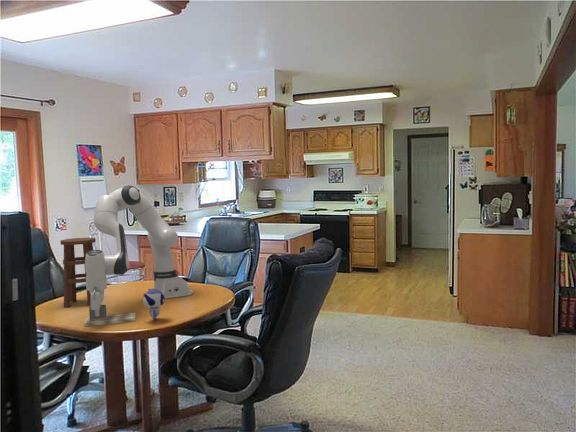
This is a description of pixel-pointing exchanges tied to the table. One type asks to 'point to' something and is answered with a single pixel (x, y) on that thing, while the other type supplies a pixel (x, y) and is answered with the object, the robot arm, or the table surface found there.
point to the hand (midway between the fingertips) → (98, 314)
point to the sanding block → (102, 313)
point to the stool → (70, 268)
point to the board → (111, 319)
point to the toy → (153, 301)
